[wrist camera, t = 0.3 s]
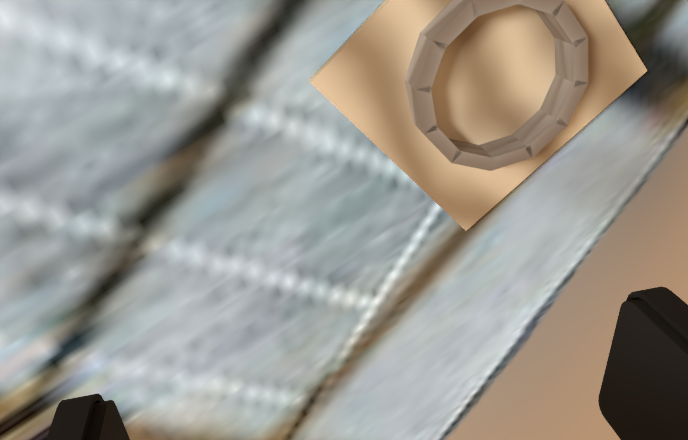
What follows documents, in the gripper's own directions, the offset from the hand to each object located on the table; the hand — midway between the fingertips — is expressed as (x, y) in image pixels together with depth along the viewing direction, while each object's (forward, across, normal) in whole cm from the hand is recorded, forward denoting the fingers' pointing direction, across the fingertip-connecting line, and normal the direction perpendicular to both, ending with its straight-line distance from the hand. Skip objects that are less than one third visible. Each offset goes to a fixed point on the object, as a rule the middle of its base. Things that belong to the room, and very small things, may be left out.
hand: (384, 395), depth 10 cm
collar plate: (+30, -15, +4) cm, 34 cm away
